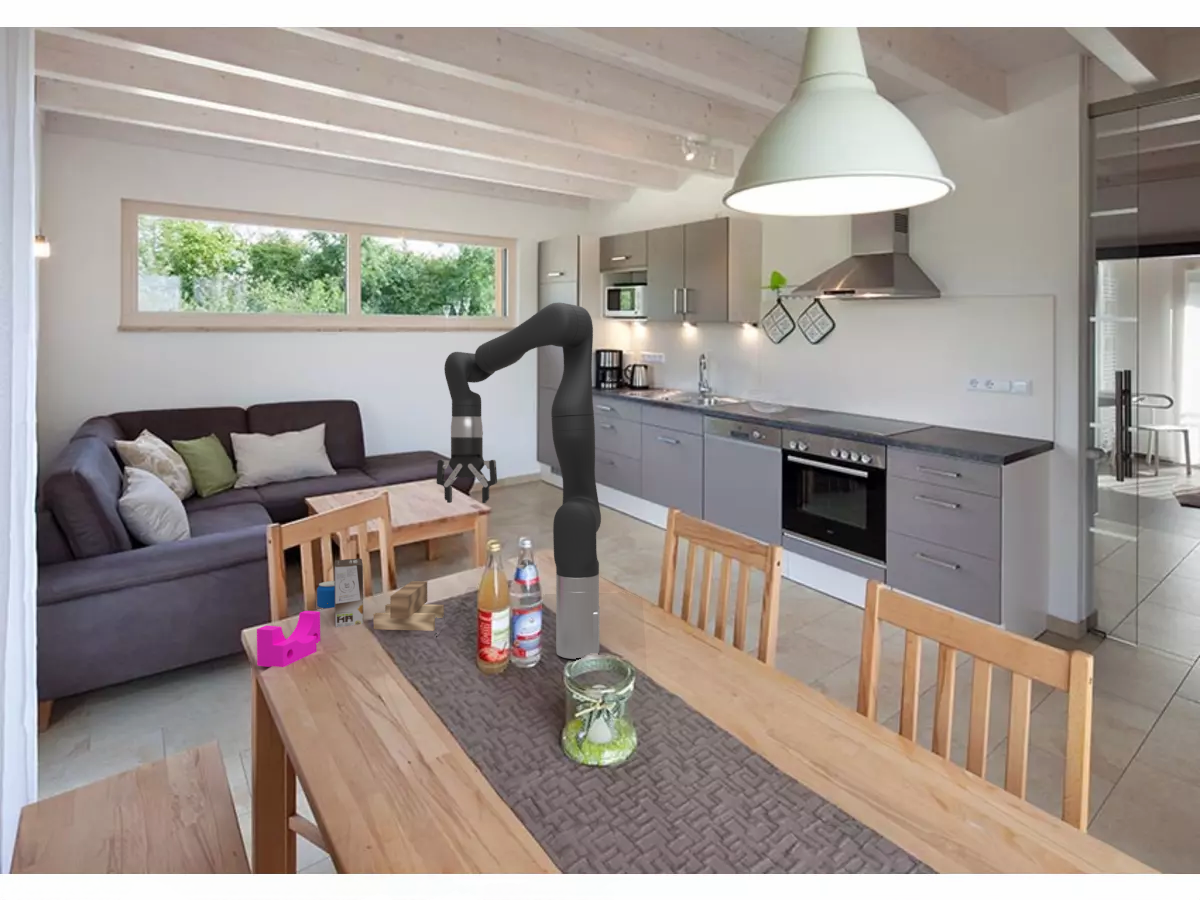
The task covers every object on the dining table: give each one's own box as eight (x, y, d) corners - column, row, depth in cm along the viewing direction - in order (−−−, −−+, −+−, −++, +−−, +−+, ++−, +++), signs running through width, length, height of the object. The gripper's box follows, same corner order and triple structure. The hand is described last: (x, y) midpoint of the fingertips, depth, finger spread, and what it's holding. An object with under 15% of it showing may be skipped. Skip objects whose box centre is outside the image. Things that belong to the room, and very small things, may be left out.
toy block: (283, 668, 141) (282, 631, 141) (257, 665, 143) (256, 629, 143) (330, 646, 156) (329, 612, 156) (306, 643, 157) (305, 610, 157)
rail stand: (449, 623, 174) (449, 602, 173) (435, 638, 161) (435, 616, 160) (385, 622, 174) (385, 602, 174) (366, 637, 161) (366, 616, 161)
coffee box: (363, 632, 166) (363, 564, 165) (334, 635, 163) (334, 566, 163) (362, 622, 174) (362, 557, 174) (335, 624, 172) (334, 559, 172)
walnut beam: (407, 618, 159) (407, 596, 159) (390, 618, 159) (390, 596, 159) (427, 601, 175) (427, 581, 175) (411, 601, 175) (411, 581, 175)
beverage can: (348, 627, 181) (347, 580, 181) (339, 634, 174) (339, 585, 174) (322, 627, 181) (322, 580, 181) (313, 634, 174) (312, 586, 174)
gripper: (433, 435, 166) (433, 504, 166) (493, 435, 166) (493, 504, 166) (441, 435, 174) (441, 501, 174) (498, 435, 173) (499, 501, 173)
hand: (467, 502), depth 170 cm, fingers open, 8 cm apart
